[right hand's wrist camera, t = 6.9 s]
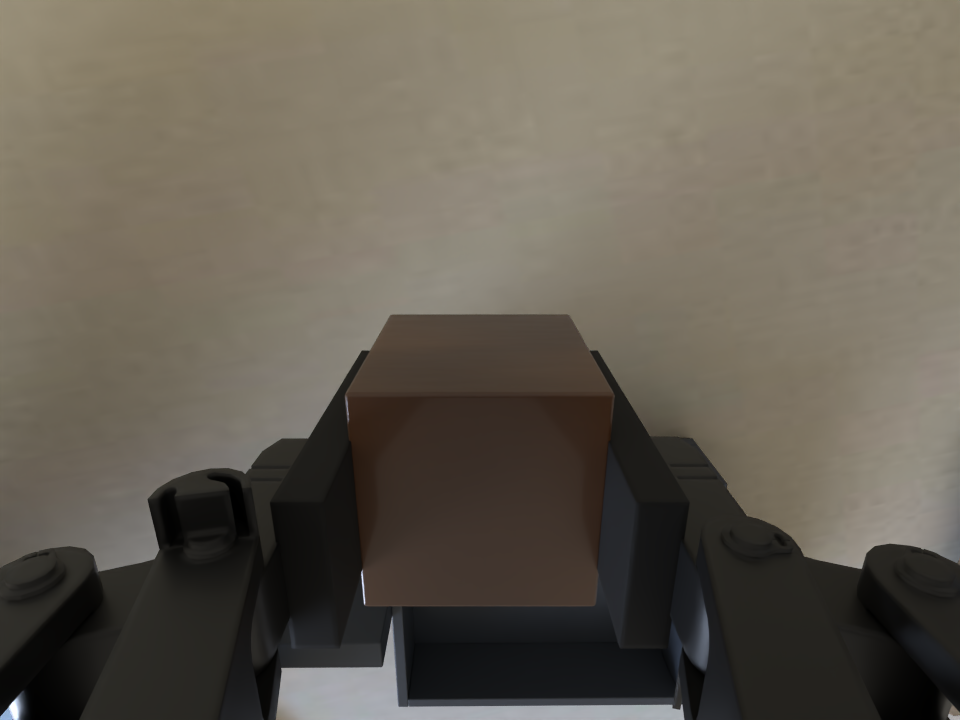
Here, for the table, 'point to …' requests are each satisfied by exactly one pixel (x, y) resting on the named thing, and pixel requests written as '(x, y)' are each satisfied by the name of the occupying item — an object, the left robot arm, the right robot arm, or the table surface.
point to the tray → (502, 654)
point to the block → (479, 462)
